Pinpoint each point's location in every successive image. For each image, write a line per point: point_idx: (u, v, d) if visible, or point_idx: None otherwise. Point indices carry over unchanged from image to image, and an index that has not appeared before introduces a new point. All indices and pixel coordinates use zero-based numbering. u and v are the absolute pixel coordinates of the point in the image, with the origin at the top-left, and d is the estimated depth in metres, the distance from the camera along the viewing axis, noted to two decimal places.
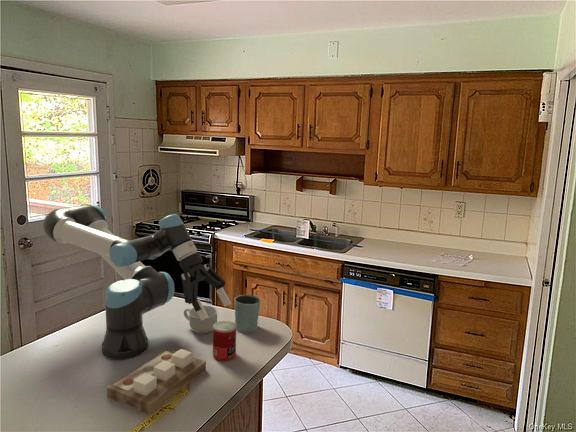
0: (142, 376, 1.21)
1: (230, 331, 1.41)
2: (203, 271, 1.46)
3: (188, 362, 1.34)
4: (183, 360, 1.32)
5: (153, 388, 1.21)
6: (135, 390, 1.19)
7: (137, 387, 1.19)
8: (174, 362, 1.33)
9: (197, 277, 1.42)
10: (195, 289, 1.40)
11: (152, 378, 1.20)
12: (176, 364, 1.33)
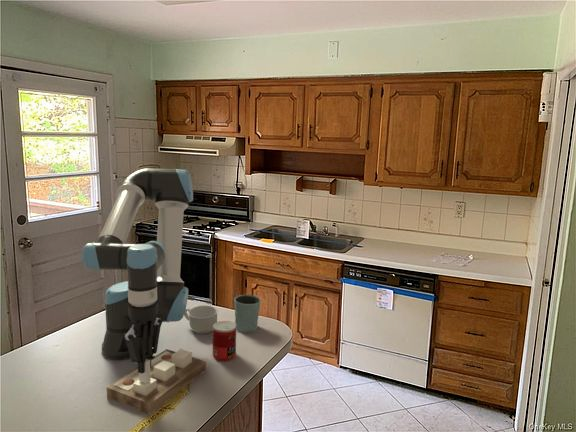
0: None
1: (230, 331, 1.42)
2: (151, 325, 1.17)
3: (188, 362, 1.34)
4: (183, 360, 1.32)
5: None
6: None
7: (137, 390, 1.19)
8: (174, 362, 1.33)
9: (144, 335, 1.15)
10: (143, 349, 1.16)
11: (152, 381, 1.21)
12: (176, 364, 1.33)
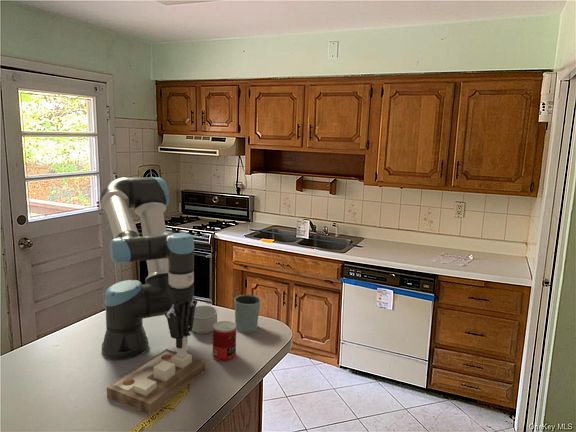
0: (142, 381, 1.21)
1: (230, 331, 1.41)
2: (188, 305, 1.31)
3: None
4: (183, 363, 1.32)
5: None
6: None
7: (137, 392, 1.19)
8: None
9: (183, 313, 1.30)
10: (181, 327, 1.31)
11: (152, 383, 1.21)
12: None
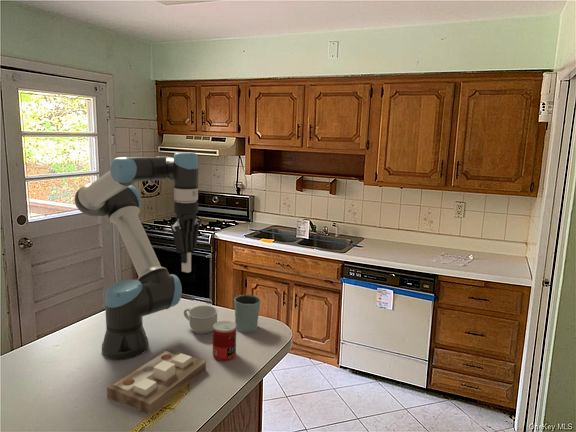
0: (142, 381, 1.21)
1: (230, 331, 1.41)
2: (192, 222, 1.38)
3: None
4: (183, 364, 1.32)
5: None
6: None
7: (137, 392, 1.19)
8: None
9: (187, 228, 1.37)
10: (186, 242, 1.37)
11: (152, 383, 1.21)
12: None
